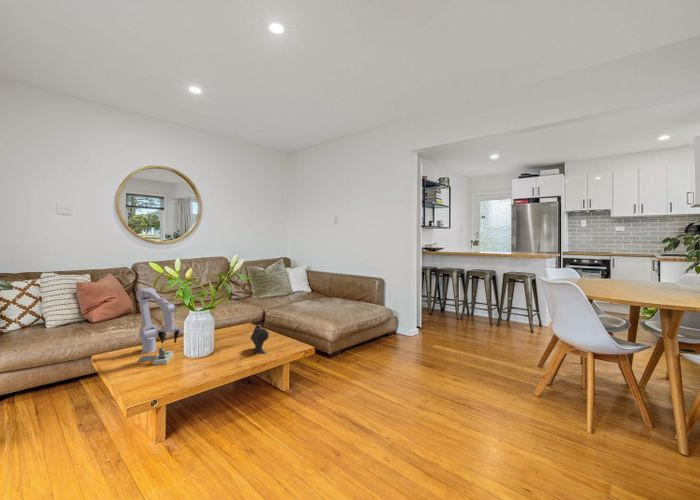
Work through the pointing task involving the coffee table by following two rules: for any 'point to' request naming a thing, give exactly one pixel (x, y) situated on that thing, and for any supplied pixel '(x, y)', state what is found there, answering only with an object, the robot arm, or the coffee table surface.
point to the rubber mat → (146, 358)
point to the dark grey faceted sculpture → (259, 339)
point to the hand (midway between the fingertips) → (168, 342)
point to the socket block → (163, 361)
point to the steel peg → (161, 353)
